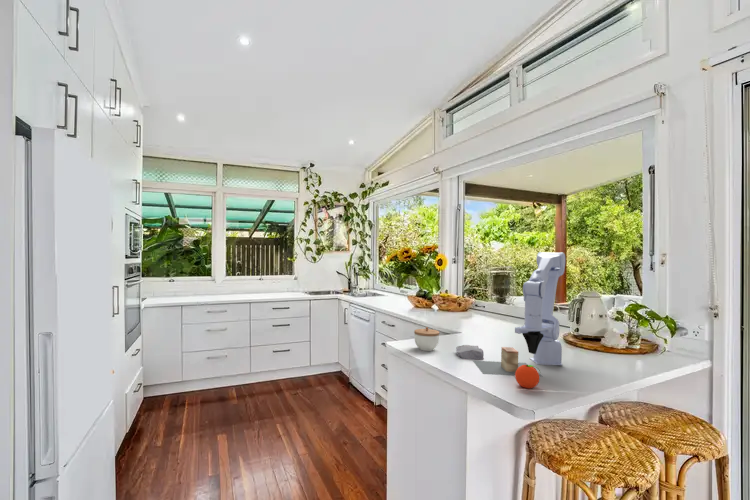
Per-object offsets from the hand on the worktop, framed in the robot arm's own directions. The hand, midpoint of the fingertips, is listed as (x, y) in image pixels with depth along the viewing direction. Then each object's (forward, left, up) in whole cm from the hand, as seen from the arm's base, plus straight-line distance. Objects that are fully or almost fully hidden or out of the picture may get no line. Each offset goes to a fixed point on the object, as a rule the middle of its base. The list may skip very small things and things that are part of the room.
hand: (532, 353), depth 130 cm
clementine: (+8, +18, -7) cm, 21 cm away
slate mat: (+9, -1, -6) cm, 11 cm away
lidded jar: (+35, -25, -7) cm, 44 cm away
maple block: (+8, 0, -6) cm, 10 cm away
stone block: (+19, -17, -7) cm, 26 cm away
